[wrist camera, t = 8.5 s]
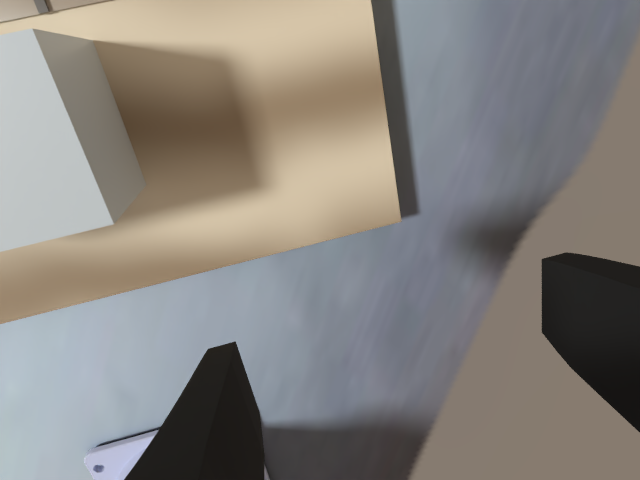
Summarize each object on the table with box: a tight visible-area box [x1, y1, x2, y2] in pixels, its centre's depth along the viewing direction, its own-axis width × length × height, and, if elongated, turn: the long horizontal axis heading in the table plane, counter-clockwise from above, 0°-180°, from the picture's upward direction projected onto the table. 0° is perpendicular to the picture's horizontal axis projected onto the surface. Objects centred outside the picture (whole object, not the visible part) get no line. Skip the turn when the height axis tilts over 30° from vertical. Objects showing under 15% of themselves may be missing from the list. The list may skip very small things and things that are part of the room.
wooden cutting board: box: [0, 0, 401, 324], centre depth 15 cm, size 13×26×1 cm, turn 101°
